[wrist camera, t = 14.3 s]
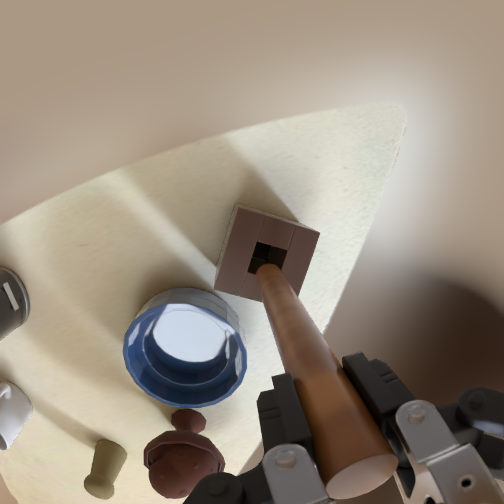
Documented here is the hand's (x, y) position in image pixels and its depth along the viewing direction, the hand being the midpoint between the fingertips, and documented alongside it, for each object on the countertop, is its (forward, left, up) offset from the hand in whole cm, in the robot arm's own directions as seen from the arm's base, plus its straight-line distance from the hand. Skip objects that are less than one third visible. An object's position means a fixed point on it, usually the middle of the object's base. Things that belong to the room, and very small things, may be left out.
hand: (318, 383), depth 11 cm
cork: (-14, -42, -26) cm, 52 cm away
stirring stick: (0, 0, -15) cm, 15 cm away
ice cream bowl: (-2, -28, -26) cm, 39 cm away
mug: (-34, -38, -26) cm, 57 cm away
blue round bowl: (-5, -13, -26) cm, 30 cm away
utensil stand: (0, +1, -26) cm, 26 cm away
